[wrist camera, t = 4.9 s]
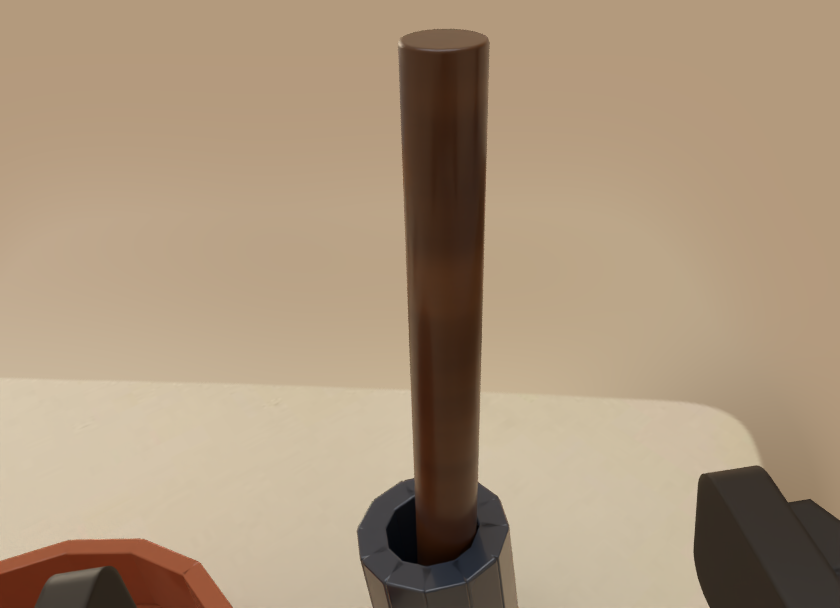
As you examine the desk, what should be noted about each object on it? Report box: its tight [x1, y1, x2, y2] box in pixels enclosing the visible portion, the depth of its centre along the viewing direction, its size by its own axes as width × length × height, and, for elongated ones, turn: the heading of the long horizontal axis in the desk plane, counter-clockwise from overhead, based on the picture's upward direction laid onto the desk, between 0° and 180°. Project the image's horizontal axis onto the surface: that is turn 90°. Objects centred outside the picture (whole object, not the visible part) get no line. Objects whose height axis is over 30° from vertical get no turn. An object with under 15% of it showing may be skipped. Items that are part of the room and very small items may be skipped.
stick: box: [398, 29, 489, 566], centre depth 18 cm, size 2×2×19 cm
